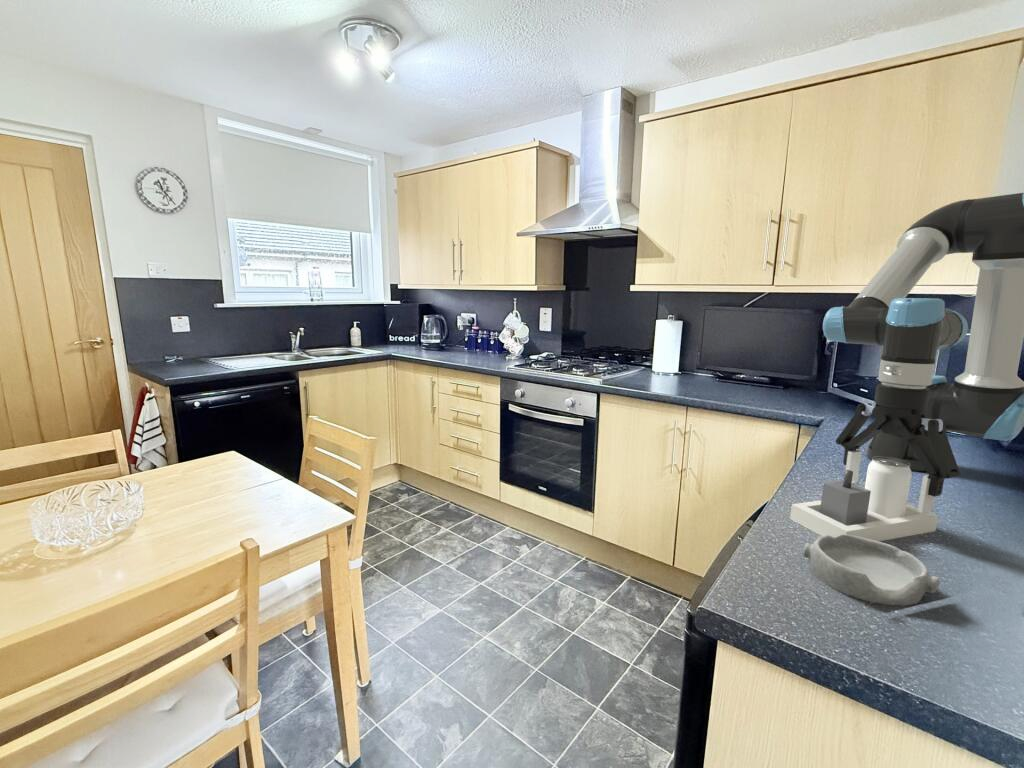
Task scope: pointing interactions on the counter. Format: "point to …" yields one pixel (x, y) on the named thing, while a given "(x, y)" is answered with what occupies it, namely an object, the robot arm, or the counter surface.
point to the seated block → (845, 501)
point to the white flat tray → (872, 529)
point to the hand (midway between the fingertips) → (884, 496)
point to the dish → (869, 570)
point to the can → (888, 486)
